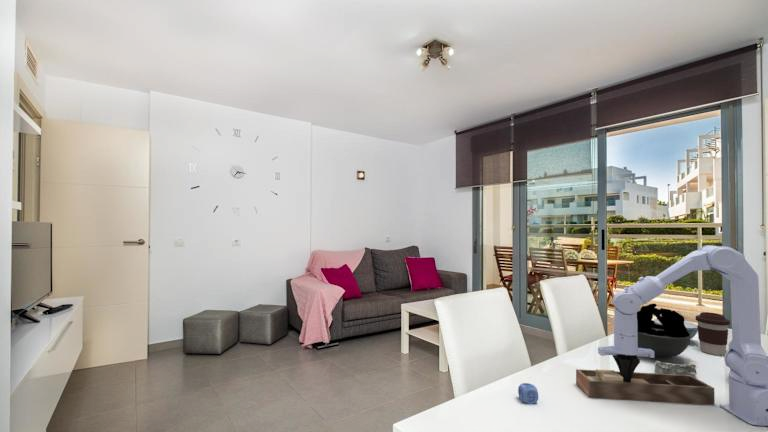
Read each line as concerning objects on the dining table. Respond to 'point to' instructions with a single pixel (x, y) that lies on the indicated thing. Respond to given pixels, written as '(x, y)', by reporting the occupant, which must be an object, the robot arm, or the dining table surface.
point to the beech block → (608, 375)
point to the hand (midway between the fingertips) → (625, 380)
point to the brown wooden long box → (648, 388)
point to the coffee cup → (712, 333)
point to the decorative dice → (528, 393)
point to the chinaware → (689, 326)
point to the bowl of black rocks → (662, 332)
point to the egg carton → (675, 369)
